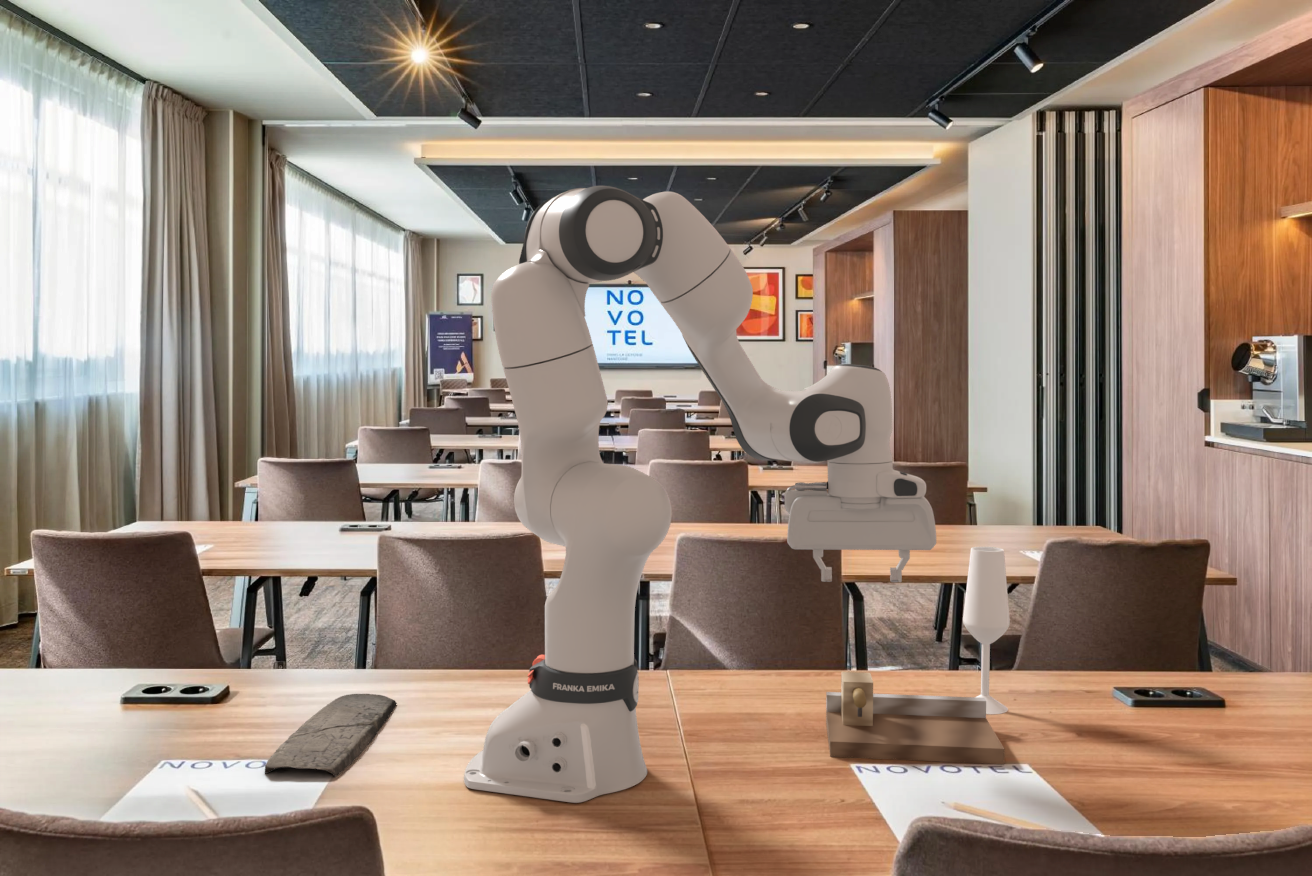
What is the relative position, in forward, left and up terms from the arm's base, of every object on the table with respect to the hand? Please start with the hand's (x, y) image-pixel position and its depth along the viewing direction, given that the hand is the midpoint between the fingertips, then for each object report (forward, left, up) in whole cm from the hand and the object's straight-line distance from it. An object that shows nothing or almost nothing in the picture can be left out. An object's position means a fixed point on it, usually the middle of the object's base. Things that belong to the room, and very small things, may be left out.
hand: (861, 581), depth 144 cm
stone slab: (-72, -11, -22) cm, 76 cm away
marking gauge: (0, -3, -19) cm, 20 cm away
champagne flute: (+20, +14, -22) cm, 32 cm away
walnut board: (+7, -3, -21) cm, 23 cm away
